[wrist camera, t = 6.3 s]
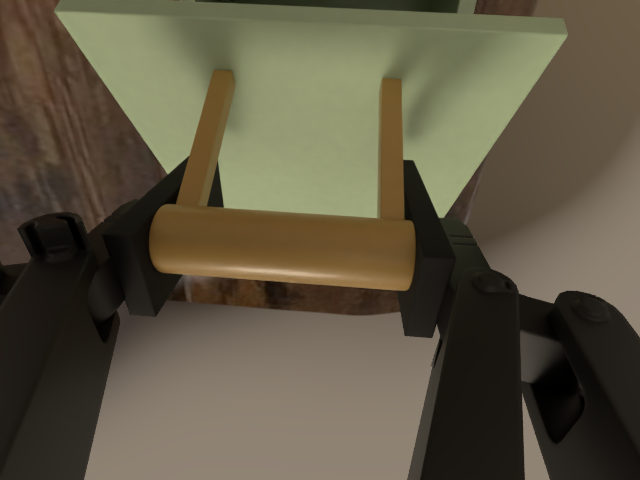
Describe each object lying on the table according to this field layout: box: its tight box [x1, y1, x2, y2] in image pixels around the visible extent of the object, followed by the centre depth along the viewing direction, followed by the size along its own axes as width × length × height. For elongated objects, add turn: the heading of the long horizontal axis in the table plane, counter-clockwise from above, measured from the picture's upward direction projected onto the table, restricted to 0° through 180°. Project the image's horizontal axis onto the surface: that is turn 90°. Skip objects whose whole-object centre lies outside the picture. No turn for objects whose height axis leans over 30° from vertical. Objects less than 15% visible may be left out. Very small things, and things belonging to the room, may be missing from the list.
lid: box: [54, 0, 568, 291], centre depth 17 cm, size 17×16×8 cm
